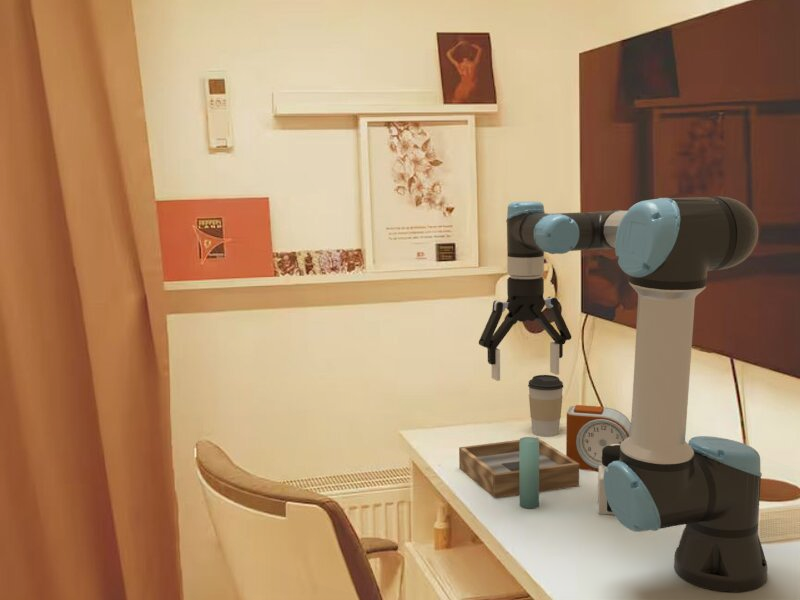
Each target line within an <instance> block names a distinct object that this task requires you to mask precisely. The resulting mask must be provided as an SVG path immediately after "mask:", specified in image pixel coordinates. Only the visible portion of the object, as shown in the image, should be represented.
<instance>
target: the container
mask: <svg viewBox="0 0 800 600" xmlns="http://www.w3.org/2000/svg"><path fill="white" fill-rule="evenodd" d="M620 445H621V444H612V445H608V446H605V447H604V448H603V449H602V465H600V466H599V470H598V471H597V472H598V474H597V476H598V477H597V480H598V485H597V487H598V488H597V495H598V496H597V506H598V514H599V515H611V516H612V515H614V514H613V512H612V510H611V507H610V506H609V503H608V501H607V498H606V494H605V490H604V481H603V479H604V472H605V469H606V467H607V466H608V465H609V464H610V463H612V462H613V461H619V459H620ZM614 516H615V515H614Z"/></svg>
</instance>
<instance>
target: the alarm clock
mask: <svg viewBox="0 0 800 600" xmlns="http://www.w3.org/2000/svg"><path fill="white" fill-rule="evenodd" d="M565 434H566V437H565V438H566V439H565V440H566V444H565V445H566V446H565V448H566V449H565V450H566V451H565V452H566V453H565V455H566V456H568V457H569V458H571V459H572V460H574V461H576V462H577V463H579V470H585V471H597V472H598V470H599V466H600V465H602V449H603V448H604V447H605V446H608V445H612V444H621V443H622V442H623V441H624V440H625V439H626V438H628V437H629V436H630V435H631V421H630V420H629V418H628V417H627V416H626V415H625V414H623V413H622V412H621V411H618V410H617V409H615V408H611V407H604V406H597V405H583V404H582V405H581V404H575V405H573V406H571V405H570V407H569V408H568V409H567V411H566V432H565Z"/></svg>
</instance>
